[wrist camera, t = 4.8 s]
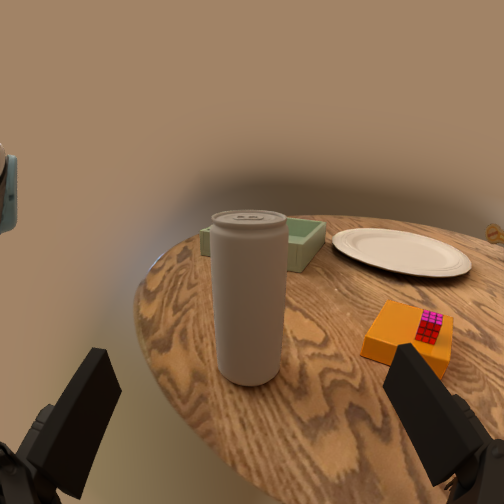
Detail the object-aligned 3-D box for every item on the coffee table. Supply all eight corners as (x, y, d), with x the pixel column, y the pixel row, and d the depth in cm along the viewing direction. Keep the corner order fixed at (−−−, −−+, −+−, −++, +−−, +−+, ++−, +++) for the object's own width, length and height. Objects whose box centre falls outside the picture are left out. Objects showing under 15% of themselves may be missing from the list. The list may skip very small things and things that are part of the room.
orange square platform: (359, 355, 21) (369, 314, 20) (383, 316, 27) (391, 281, 26) (440, 381, 16) (459, 340, 15) (447, 335, 22) (459, 299, 21)
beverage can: (284, 388, 18) (297, 224, 14) (217, 391, 18) (205, 225, 14) (274, 349, 23) (281, 209, 19) (218, 351, 22) (211, 210, 19)
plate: (375, 230, 66) (375, 223, 66) (477, 260, 44) (479, 252, 43) (298, 249, 50) (299, 239, 49) (452, 306, 28) (456, 293, 27)
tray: (200, 254, 47) (199, 230, 45) (247, 232, 62) (247, 213, 60) (300, 273, 39) (302, 244, 38) (324, 242, 54) (326, 222, 53)
